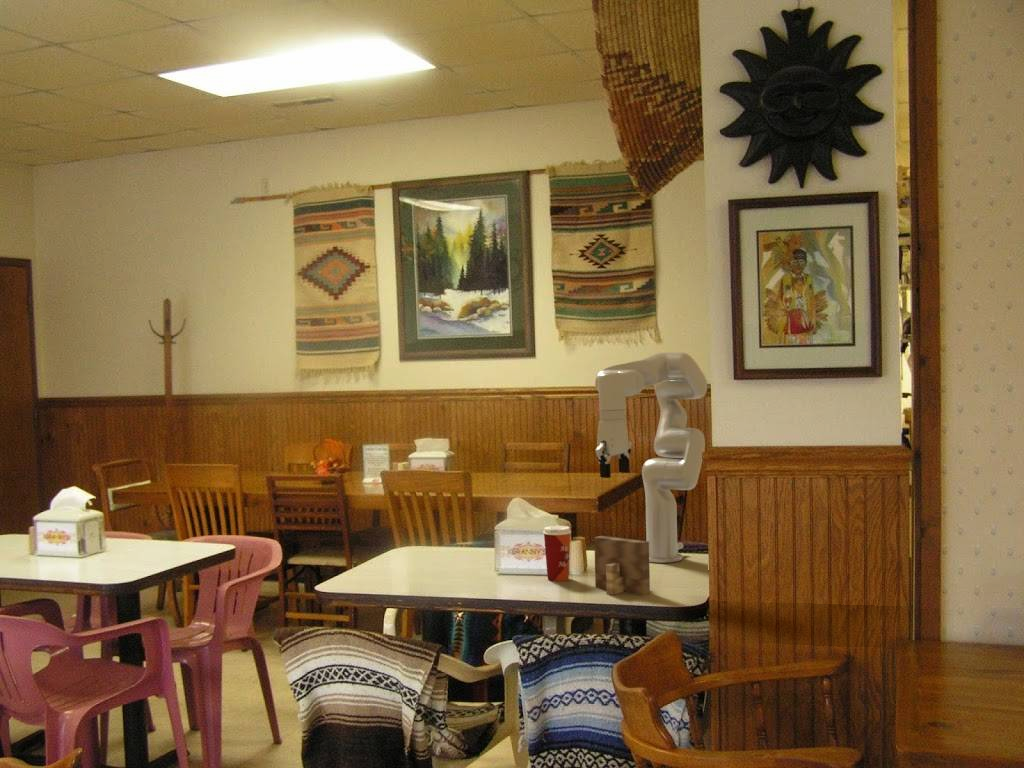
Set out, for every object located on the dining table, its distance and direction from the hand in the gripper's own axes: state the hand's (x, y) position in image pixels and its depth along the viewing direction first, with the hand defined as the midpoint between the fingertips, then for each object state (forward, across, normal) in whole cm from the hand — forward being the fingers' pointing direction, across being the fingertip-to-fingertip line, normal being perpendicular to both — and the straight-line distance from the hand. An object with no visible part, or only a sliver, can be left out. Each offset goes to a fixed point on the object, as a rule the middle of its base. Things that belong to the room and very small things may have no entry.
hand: (614, 474), depth 302 cm
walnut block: (+30, +12, +9) cm, 33 cm away
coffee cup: (+30, +10, -14) cm, 35 cm away
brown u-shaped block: (+30, +12, +9) cm, 33 cm away
